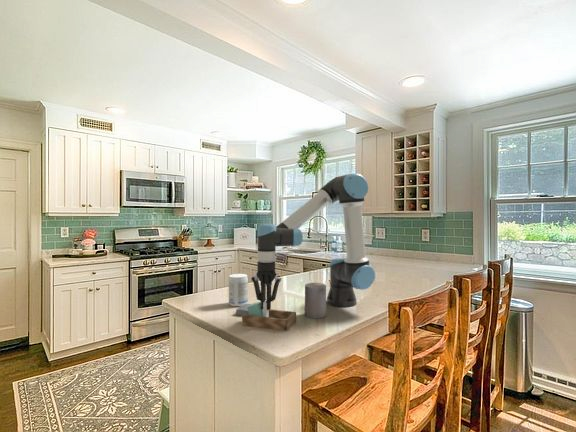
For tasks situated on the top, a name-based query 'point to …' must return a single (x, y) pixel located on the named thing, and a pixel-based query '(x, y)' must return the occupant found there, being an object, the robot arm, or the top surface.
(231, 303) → the supplement tub
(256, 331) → the top surface
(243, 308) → the trivet
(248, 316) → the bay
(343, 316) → the top surface
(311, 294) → the pillar candle
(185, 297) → the top surface
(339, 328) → the top surface
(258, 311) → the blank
